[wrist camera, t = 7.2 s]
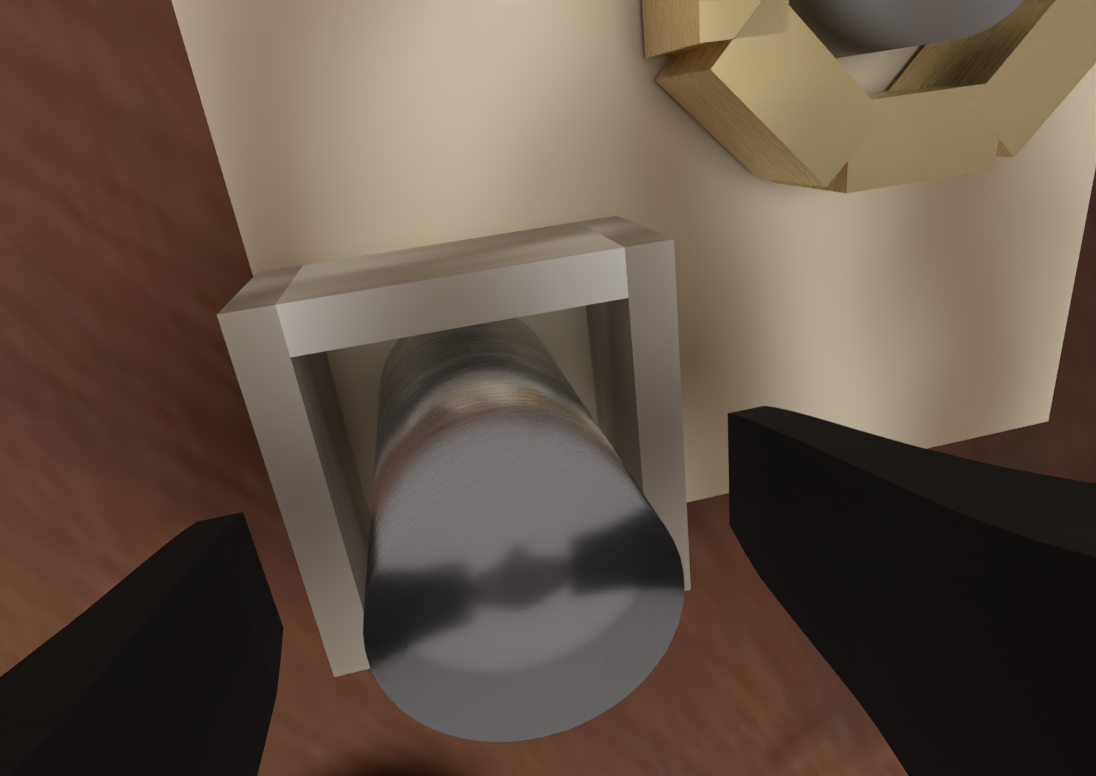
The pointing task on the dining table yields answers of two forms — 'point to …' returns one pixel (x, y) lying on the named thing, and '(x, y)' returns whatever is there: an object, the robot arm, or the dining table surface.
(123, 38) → the dining table surface
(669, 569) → the pin
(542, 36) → the board
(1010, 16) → the ring nut
